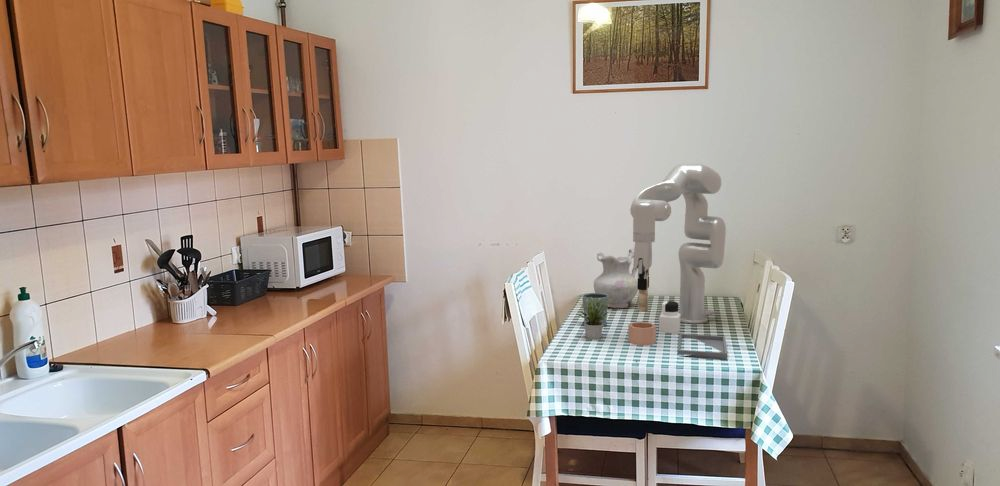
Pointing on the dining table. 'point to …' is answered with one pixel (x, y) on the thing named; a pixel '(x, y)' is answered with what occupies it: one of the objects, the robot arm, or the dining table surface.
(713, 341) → the tray
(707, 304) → the dining table surface
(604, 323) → the blue-grey plant pot
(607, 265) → the ceramic pitcher
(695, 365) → the dining table surface
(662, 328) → the medicine bottle
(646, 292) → the dowel
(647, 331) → the cup
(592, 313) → the house plant
